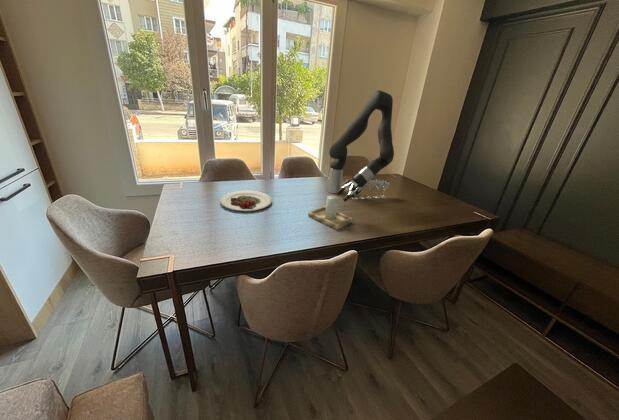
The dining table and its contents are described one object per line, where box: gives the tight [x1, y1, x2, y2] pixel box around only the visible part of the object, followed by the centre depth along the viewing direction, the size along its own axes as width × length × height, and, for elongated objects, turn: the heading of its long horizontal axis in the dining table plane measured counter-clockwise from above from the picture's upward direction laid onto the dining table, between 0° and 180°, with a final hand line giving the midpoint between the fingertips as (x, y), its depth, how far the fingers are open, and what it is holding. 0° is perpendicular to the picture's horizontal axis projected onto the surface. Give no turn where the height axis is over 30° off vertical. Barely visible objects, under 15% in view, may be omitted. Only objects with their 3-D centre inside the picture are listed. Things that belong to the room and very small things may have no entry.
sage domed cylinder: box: [325, 195, 339, 220], centre depth 138 cm, size 6×6×12 cm
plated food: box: [219, 189, 273, 212], centre depth 151 cm, size 30×30×3 cm
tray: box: [307, 205, 353, 231], centre depth 140 cm, size 20×14×2 cm
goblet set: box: [351, 177, 391, 201], centre depth 174 cm, size 28×6×13 cm, turn 109°
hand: (340, 197), depth 137 cm, fingers open, 8 cm apart
